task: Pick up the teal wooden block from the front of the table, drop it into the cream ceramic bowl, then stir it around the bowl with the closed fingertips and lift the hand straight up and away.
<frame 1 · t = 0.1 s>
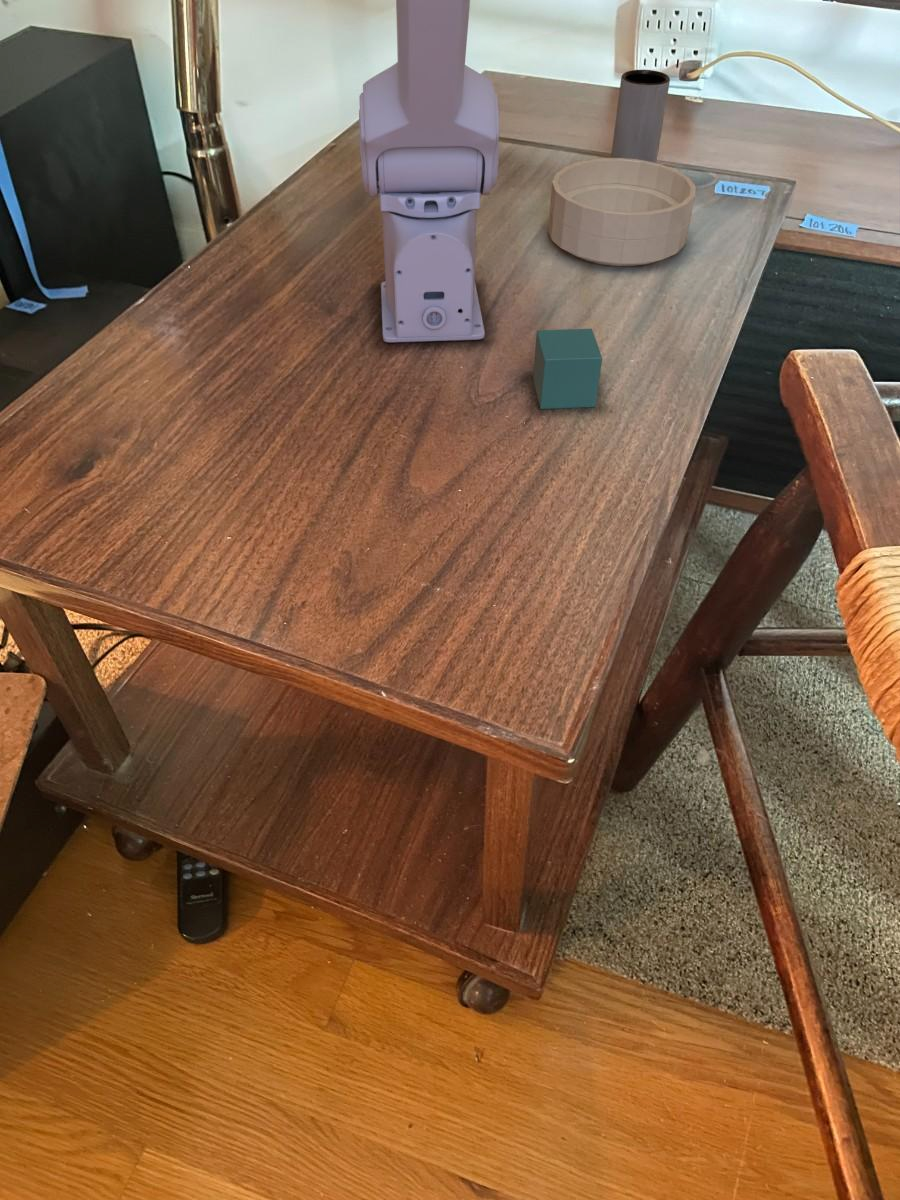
bowl: (616, 239, 82), on the table
block: (563, 392, 65), on the table
planter: (629, 191, 91), on the table
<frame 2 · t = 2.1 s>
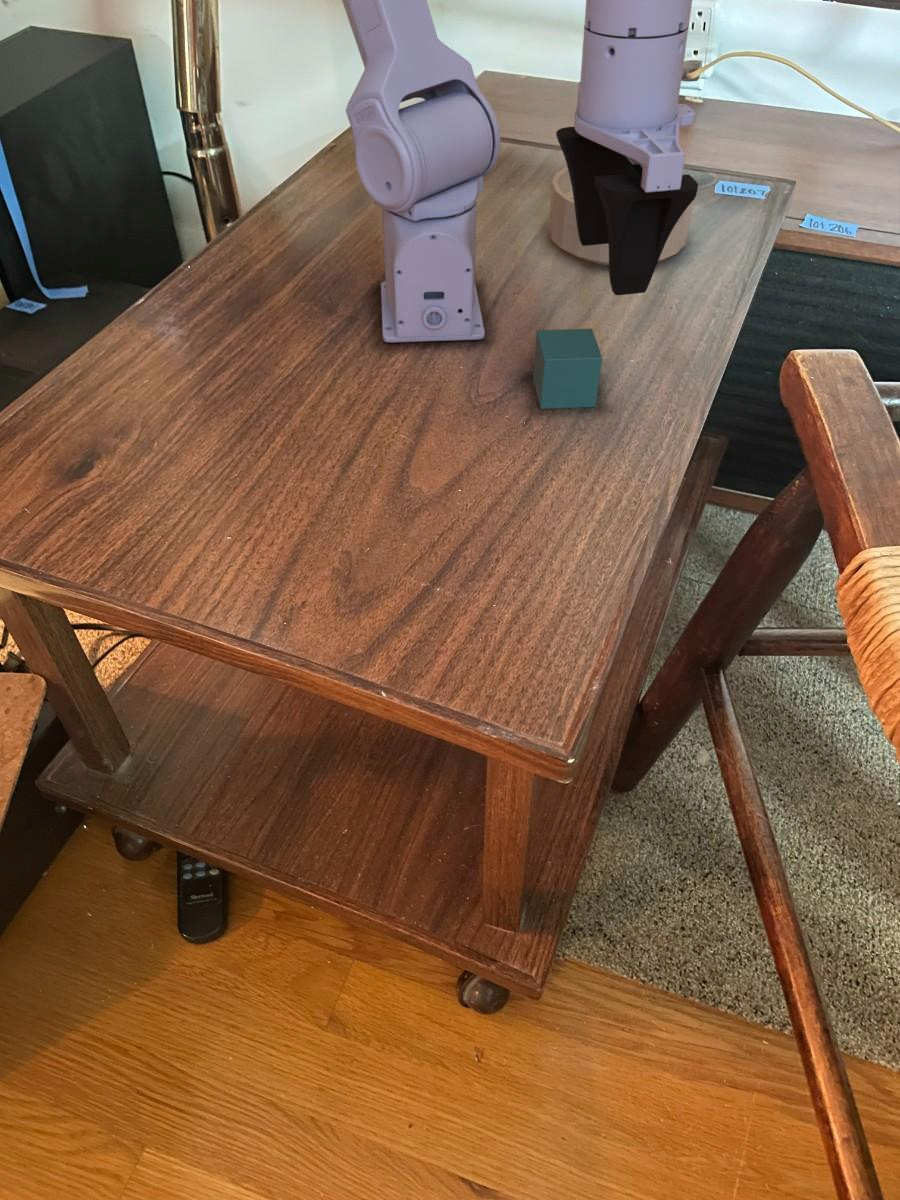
hand: (611, 266, 59), 9 cm above the table, tool pointing down, fingers open, 7 cm apart
nothing on the table moved.
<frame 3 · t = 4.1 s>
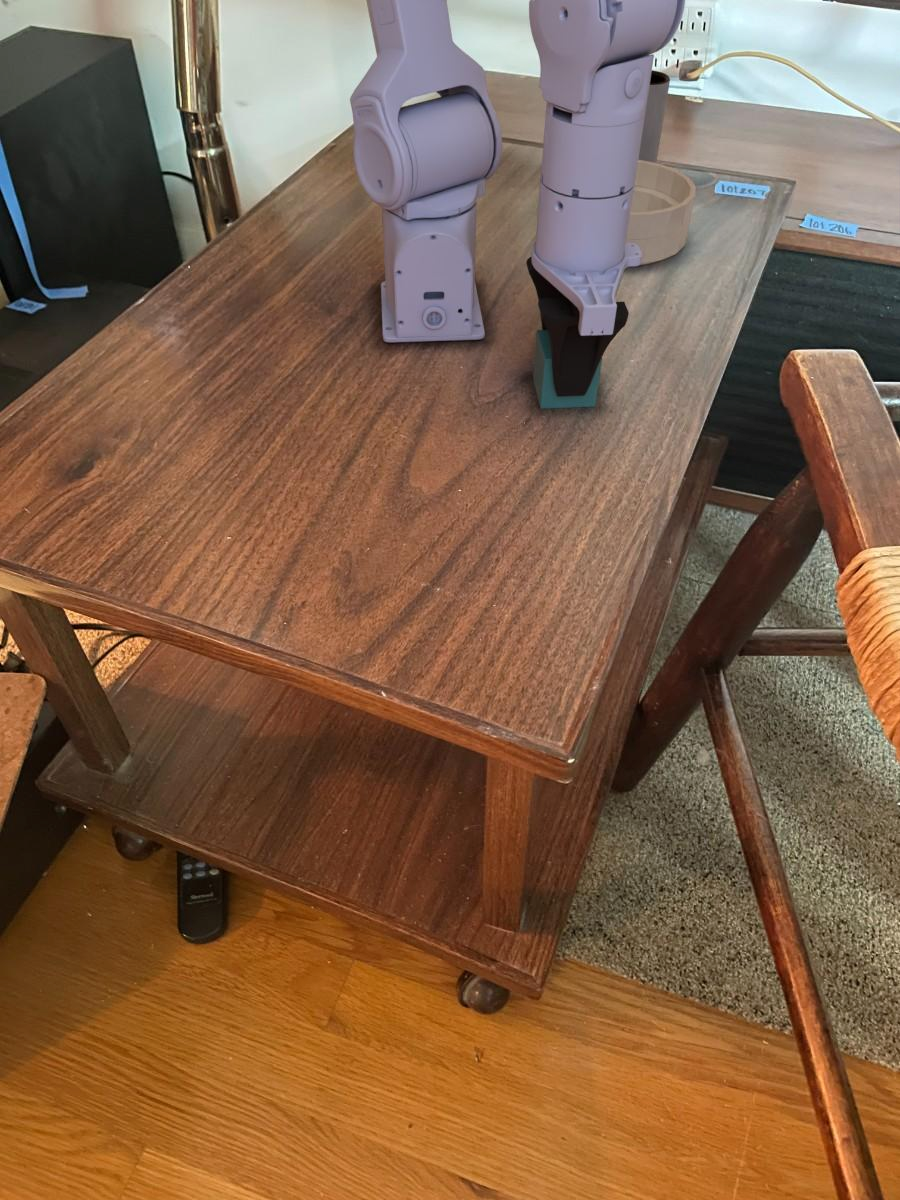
hand: (565, 376, 64), 1 cm above the table, tool pointing down, fingers closed on block, 4 cm apart
block: (563, 392, 65), on the table, touching gripper
everything else where it was.
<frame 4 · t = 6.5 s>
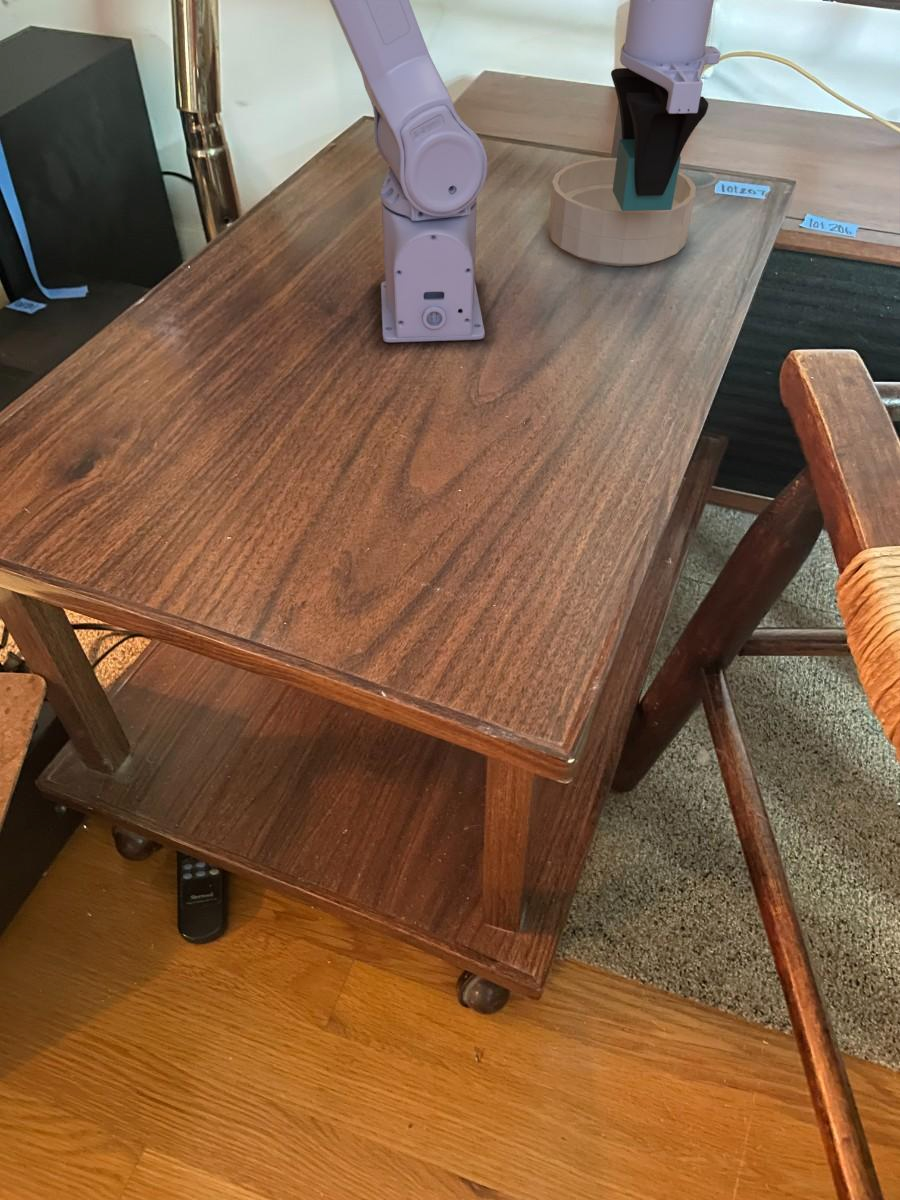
hand: (643, 182, 70), 8 cm above the table, tool pointing down, fingers closed on block, 4 cm apart
block: (641, 200, 71), point 7 cm above the table, touching gripper
everything else where it was.
when the fingers open (2 cm above the table, at t = 9.2 s): block stays where it is, resting on bowl.
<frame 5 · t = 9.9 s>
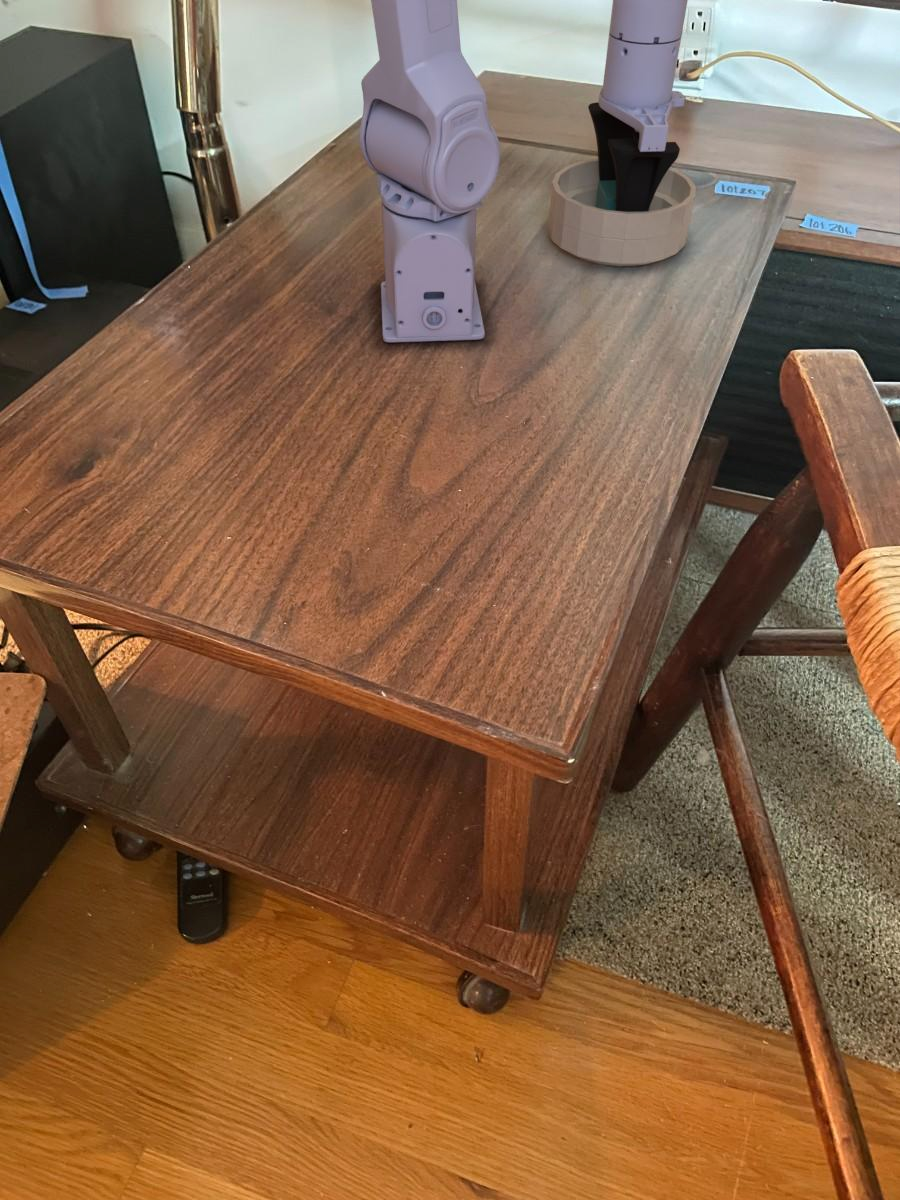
hand: (620, 207, 80), 3 cm above the table, tool pointing down, fingers open, 7 cm apart
block: (618, 233, 82), point 1 cm above the table, touching bowl
everything else where it was.
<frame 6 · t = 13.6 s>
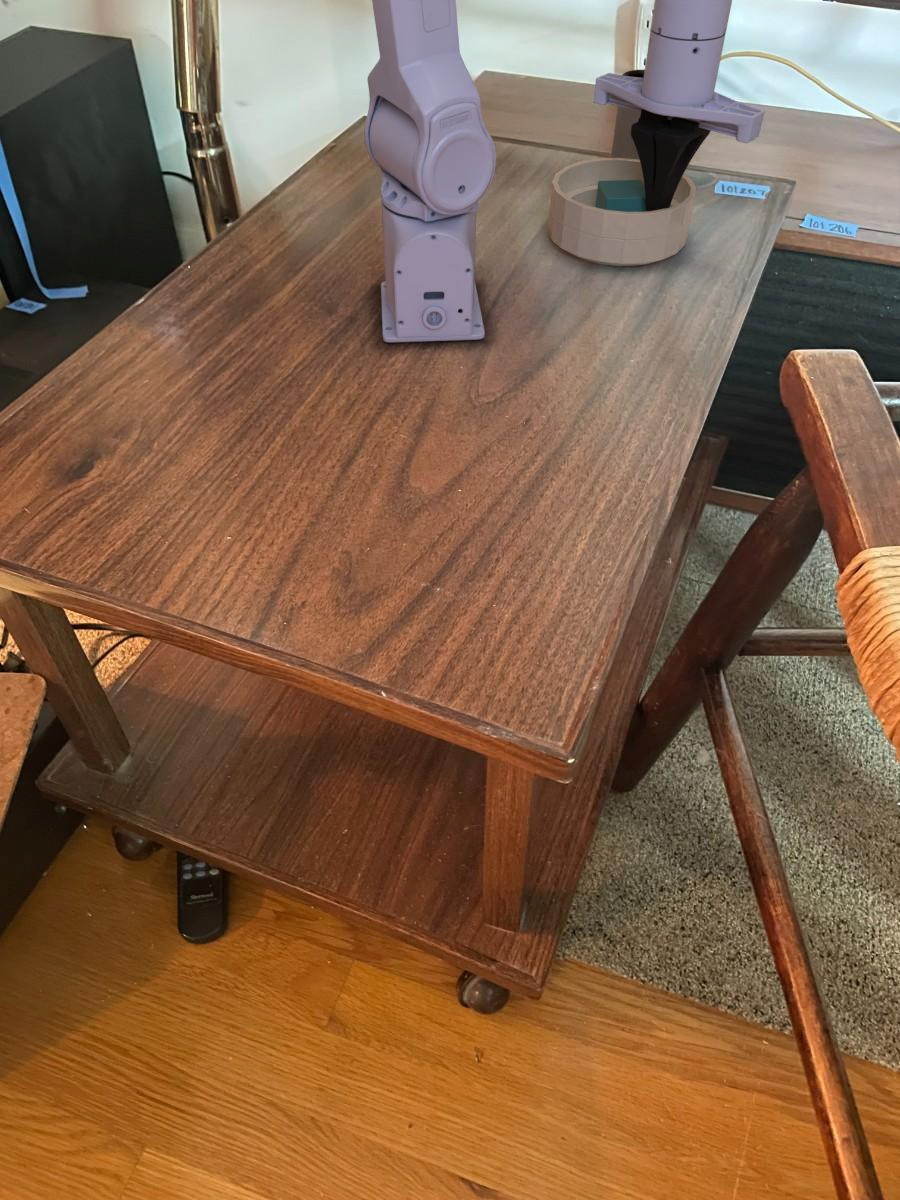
hand: (657, 209, 78), 4 cm above the table, tool pointing down, fingers closed
block: (618, 233, 82), point 1 cm above the table, touching bowl, gripper
everything else where it was.
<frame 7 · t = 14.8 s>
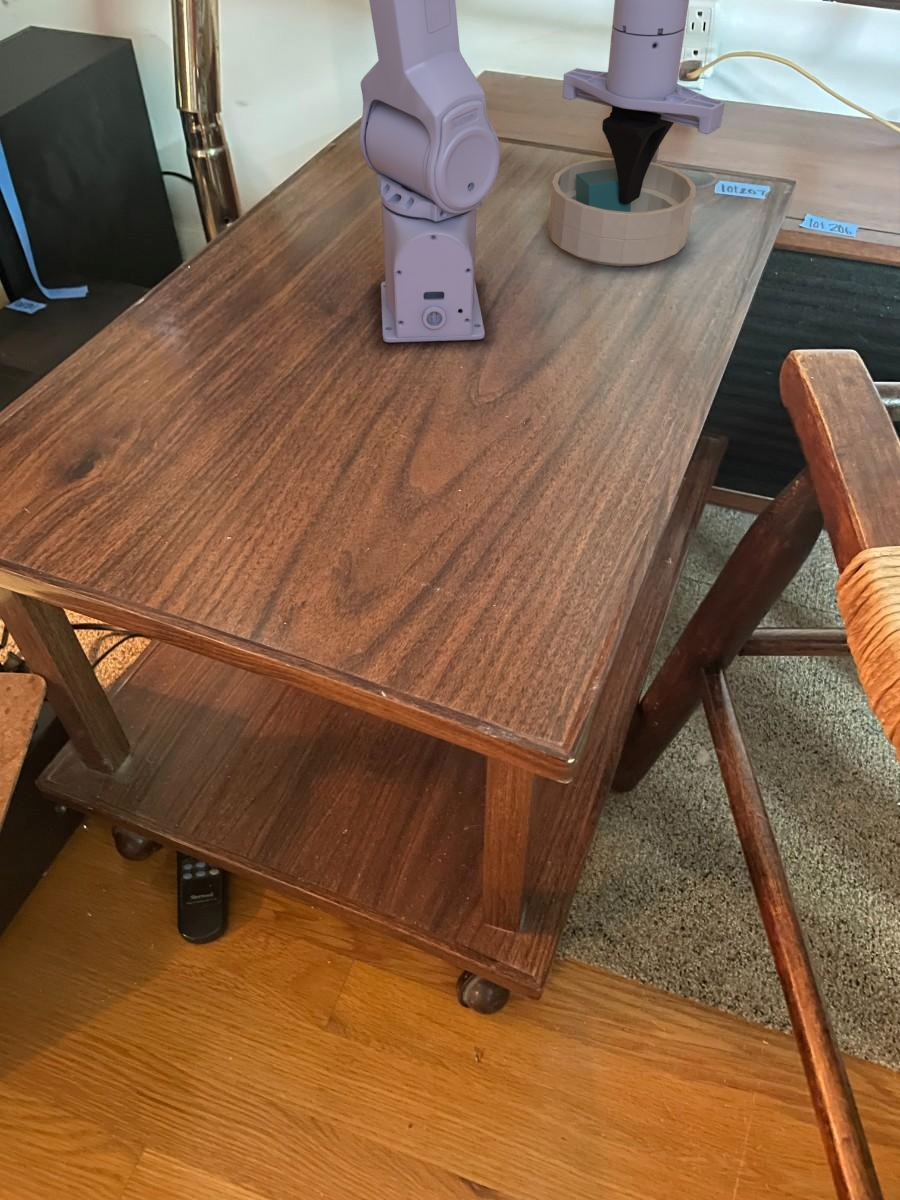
hand: (627, 199, 80), 4 cm above the table, tool pointing down, fingers closed, pressing on block
block: (602, 221, 83), point 1 cm above the table, tilted 8°, touching bowl, gripper
everything else where it was.
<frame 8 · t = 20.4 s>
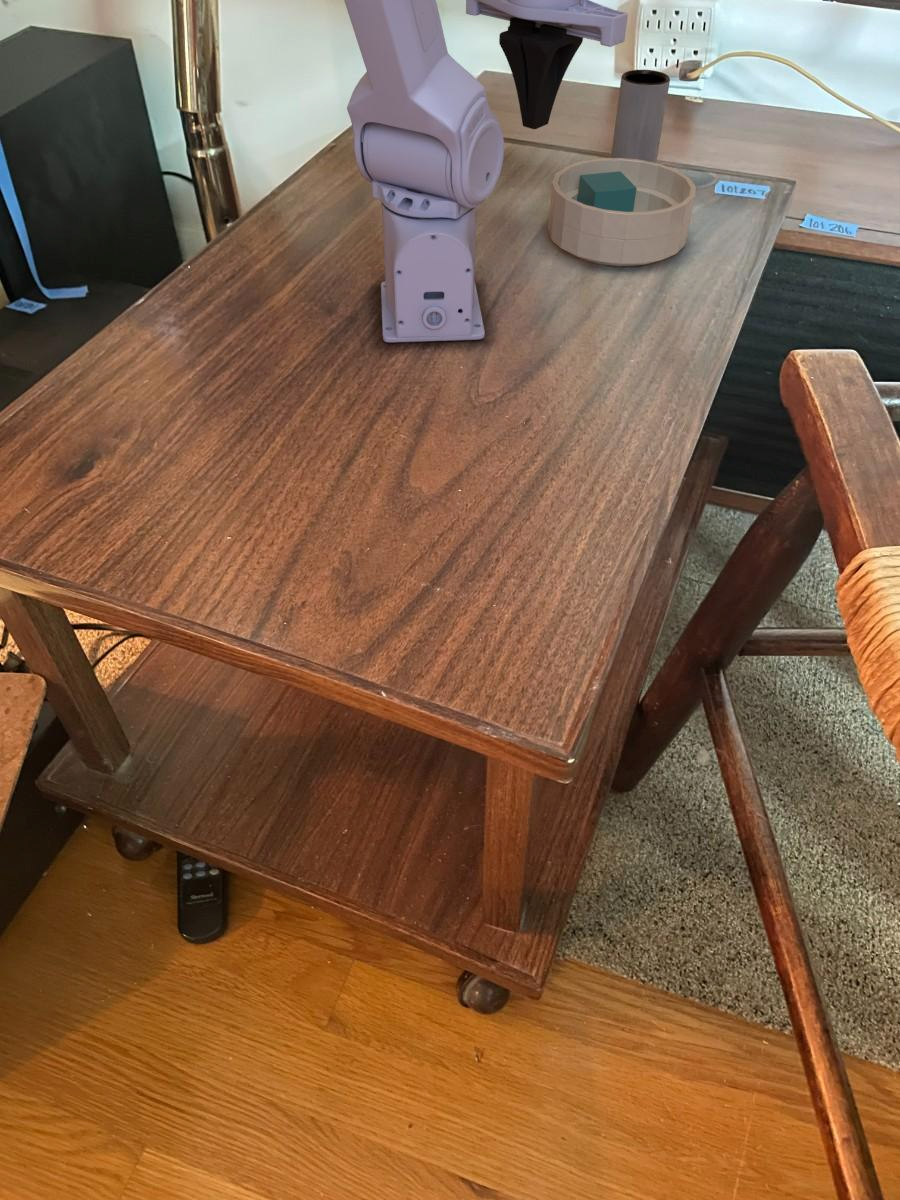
hand: (535, 124, 77), 9 cm above the table, tool pointing down, fingers closed
block: (602, 225, 83), point 1 cm above the table, touching bowl
everything else where it was.
at the end: block inside the target area in the bowl (2.1 cm from its centre), point 0.6 cm above the bowl's base; the gripper is holding nothing; planter moved 0.2 cm from its start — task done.
